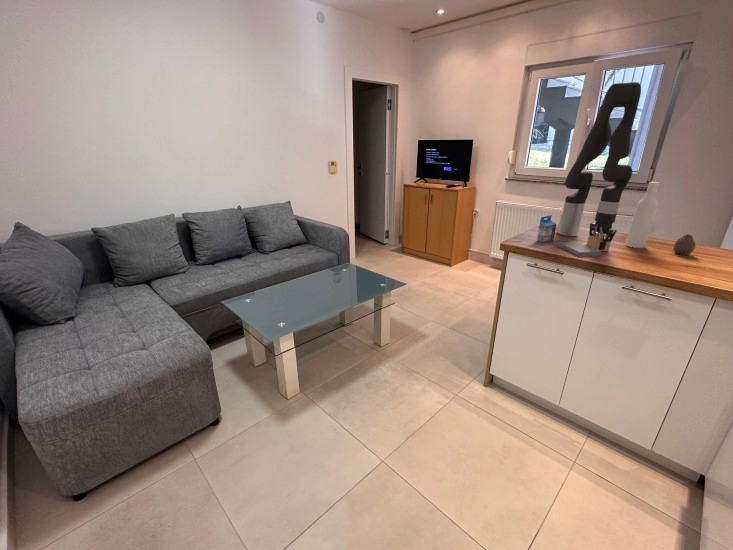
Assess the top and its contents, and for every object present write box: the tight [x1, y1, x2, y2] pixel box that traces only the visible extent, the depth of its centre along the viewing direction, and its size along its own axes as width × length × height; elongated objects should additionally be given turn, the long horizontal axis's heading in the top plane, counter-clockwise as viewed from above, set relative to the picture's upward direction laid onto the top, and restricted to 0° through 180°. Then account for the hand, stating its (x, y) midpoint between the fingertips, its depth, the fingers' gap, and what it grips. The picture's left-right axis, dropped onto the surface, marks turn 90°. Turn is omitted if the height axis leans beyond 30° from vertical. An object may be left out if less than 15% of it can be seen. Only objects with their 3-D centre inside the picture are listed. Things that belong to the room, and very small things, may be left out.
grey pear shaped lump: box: [673, 234, 696, 256], centre depth 148 cm, size 7×7×9 cm
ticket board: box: [556, 240, 602, 257], centre depth 155 cm, size 16×10×2 cm, turn 5°
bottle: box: [624, 181, 660, 249], centre depth 155 cm, size 8×8×30 cm
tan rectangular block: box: [585, 235, 612, 252], centre depth 155 cm, size 4×8×6 cm, turn 95°
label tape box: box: [536, 214, 557, 243], centre depth 169 cm, size 9×4×12 cm, turn 120°
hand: (597, 247), depth 155 cm, fingers closed on tan rectangular block, 4 cm apart
